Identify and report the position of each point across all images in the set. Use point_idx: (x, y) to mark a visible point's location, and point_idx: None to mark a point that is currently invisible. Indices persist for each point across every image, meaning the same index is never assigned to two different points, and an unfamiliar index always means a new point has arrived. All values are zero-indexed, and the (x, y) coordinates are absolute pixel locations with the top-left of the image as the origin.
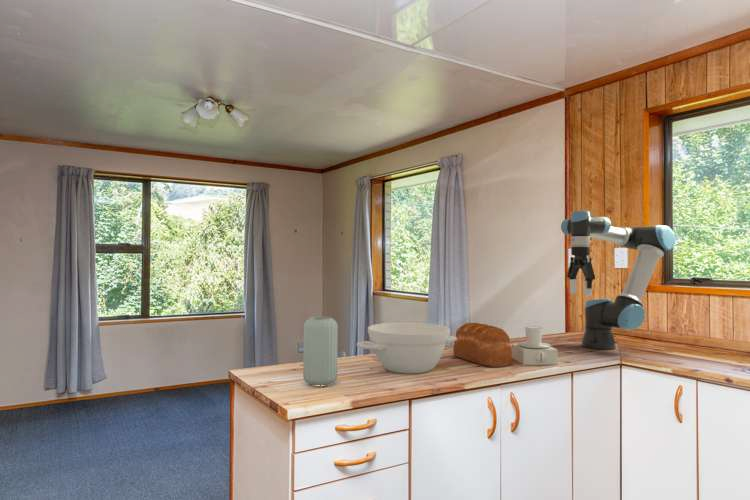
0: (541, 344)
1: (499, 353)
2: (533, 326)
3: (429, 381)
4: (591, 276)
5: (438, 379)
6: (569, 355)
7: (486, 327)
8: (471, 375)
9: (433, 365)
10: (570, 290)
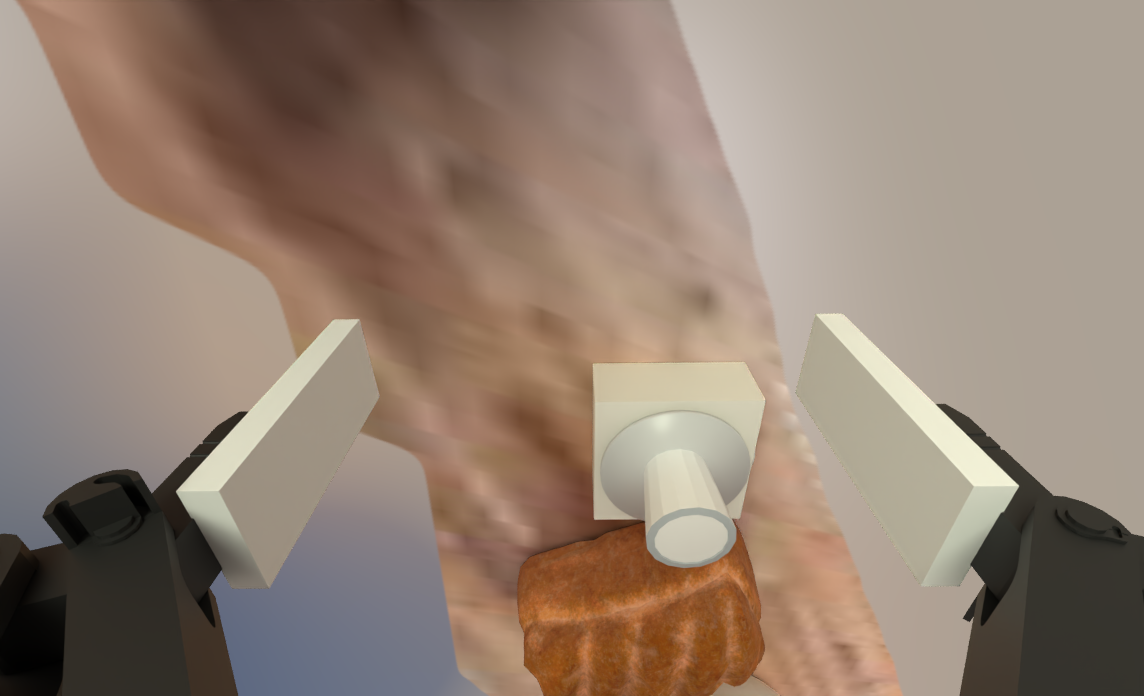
0: (688, 447)
1: (755, 584)
2: (658, 532)
3: (845, 682)
4: (1138, 605)
5: (834, 669)
6: (547, 221)
7: (707, 693)
8: (819, 615)
9: (773, 690)
10: (357, 428)
